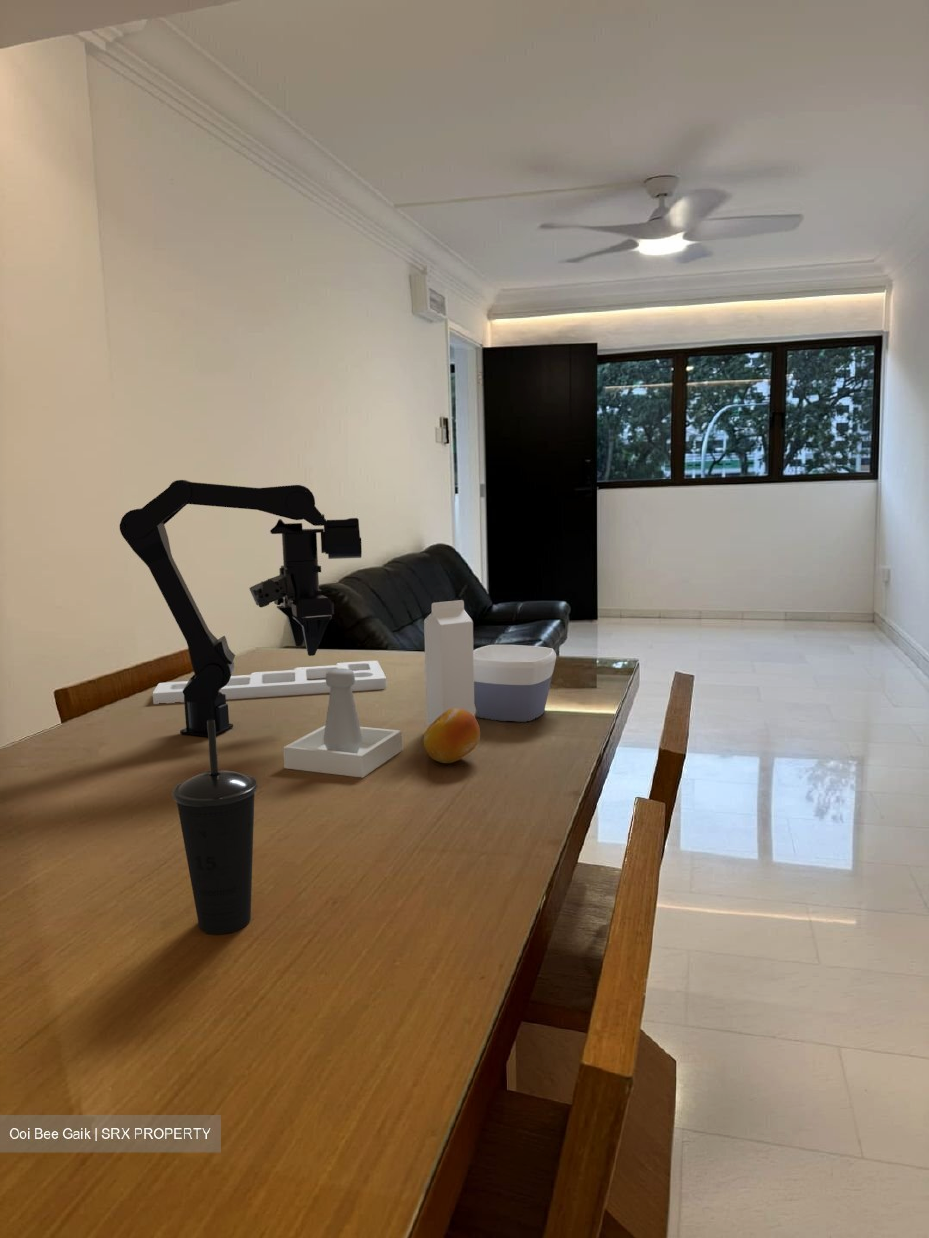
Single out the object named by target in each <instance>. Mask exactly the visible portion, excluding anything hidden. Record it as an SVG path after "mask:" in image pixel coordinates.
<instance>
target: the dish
mask: <svg viewBox="0 0 929 1238" xmlns="http://www.w3.org/2000/svg"><path fill="white" fill-rule="evenodd" d="M360 729H361V734H362V742H361V745H360V748H359V750H358V753H349V752H339V751H330V750H327V748H326V746H325V743H324V732H325V725H322V726H321V727H319V728H317V729H315V730H313V731H311V732H310V733H308V734H305V735H304V736H302V737H300V738H298V739H296V740H295V741H292V742H291V743H289V744H287V745H285V746H283V765H284V766H283V767H284V769H290V770H298V771H305V772H313V773H322V774H329V775H330V774H331V775H336V776H337V775H339V776H347V777H354V778H364V777H366V776H367V775H369V774H370V773H372V772H373V771H374V770H376V769H377V768H379V767H381V766H382V765H383V764H385V763H387V761H389V760H390V759H392V758H393V757H395V756H396V755H398V754H399V753H401V752H402V751H403V740H402V739H403V738H402V737H403V736H402V730H397V729H387V728H377V727H365V726H360Z"/></svg>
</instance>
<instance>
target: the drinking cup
mask: <svg viewBox="0 0 929 1238" xmlns="http://www.w3.org/2000/svg"><path fill="white" fill-rule="evenodd" d="M207 727H208V736H207V739H208V741H207V742H208V751H209V768H210V771H206V772H202V773H200V774H197V775H194V776H193V777H190V778H188V779H187V780H184V781H182V782H180V783H178V784H177V785H176V786H175V787H174V788H173V790H172V798H173V800H174V801H175V802H176V804H177V811H178V815H179V822H180V827H181V833H182V838H183V844H184V850H185V855H186V861H187V867H188V872H189V878H190V883H191V888H192V894H193V895H192V896H193V899H194V907H195V912H196V917H197V918H196V919H197V922H198V927H199V930H201V931H202V932H204V933H205V934H210V935H227V934H231V933H234V932H237V931H240V930H241V929H243V928H245V927H246V926H247V925H248V924H249V923H250V921H251V918H252V891H253V889H252V886H253V885H252V884H253V856H254V855H253V854H254V824H255V822H254V820H255V818H254V817H255V793H256V792H257V790H258V782H257V781H258V780H257V779H255V777H253V776H252V775H248V774H244V773H239V772H236V771H234V770H233V771H231V770H222V769H221V770H219V765H218V762H219V761H218V750H217V749H218V748H217V747H218V746H217V734H216V733H215V720H208V721H207Z"/></svg>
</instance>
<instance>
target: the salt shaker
mask: <svg viewBox="0 0 929 1238" xmlns="http://www.w3.org/2000/svg"><path fill="white" fill-rule="evenodd" d="M325 680H326V683H327V686H329V687H331V689H330V693H329V697H328V698H329V699H328V705H327V712H326V719H325V724H324V726H325V732H324V743H325V746H326V748H327V750H330V751H339V752H349V753H358V750H359V748H360V745H361V742H362V734H361V729H360V727H361V725H360V720H359V716H358V711H357V708H356V702H355V698H354V693H353V691H352V688H351V686H352V685H353V684H354V683H355V676H354V673H353V671H351V670H349V669H344V668H339V669H333V670H330V671H328V673H327V674H326V678H325Z"/></svg>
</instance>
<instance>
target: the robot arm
mask: <svg viewBox="0 0 929 1238" xmlns="http://www.w3.org/2000/svg"><path fill="white" fill-rule="evenodd" d="M187 505H197V506H207V507H218V508H233V509H241V510H243V509H245V510H255V511H260V512H265V513H267V514H269V515H270V514H271V515H274V516H277V517H281V518H286V519H290V520H294V521H302V520H304V521H306V522H307V523H309V524H311V525H312V526H315V527H316V526H317V527H319V526H320V527H321V526H323V528H303V523H302V522H298V523H297V522H296V523H295V522H292V523H285V522H284V521H283V520H282V519H281V518H278V520H277V522H276V524H275V525H274V527H273V526H272V528H271V529H270V531H269V532H270V534H272V535H281V540H282V541H281V544H282V560H283V561H282V562H283V564H282V565H280V567H279V575H276V576H274V577H271V578H267V579H266V580H264V581H260V582H259V583H257V584H254V585H252V586H250V587H249V591H250V594H251V596H252V598H253V600H254V602H255V605H256V606H258V607H259V608H264V607H267V606H269V605H270V604H271V603H273V602H274V603H273V604H275V605H277V606H276V609H278V610H279V611H280V612H281V613H282V614H284V615H285V616H286V620H287V622H288V625H289V626H288V627H290V632H291V636H292V639H293V642H294V645H295V647H297V648H298V647H302V646H303V644H304V643H305V648H306V652H307V655H308V656H309V657H311V656H312V657H313V656H315V655H316V653H317V651H318V648H319V646H320V643H321V641H322V639H323V636H324V634H325V631H326V629H327V626H328V624H329V622H330V620H332V618H333V615H335V603H334V601H332V599H330V598H329V597H327V596H325V595H323V590H322V589H320V582H319V580H320V579H319V573H322V566H321V565H319V558H318V538H317V537H318V536H317V533H319V534H320V547H321V548H320V549H321V551H320V552H321V554H325V555H327V559H328V560H332V559H333V560H336V559H337V560H338V559H340V560H341V559H361V558H362V554H363V553H362V537H361V533H360V532H361V531H360V522H359V520H360V519H359V518H358V517H351V518H350V517H349V518H346V519H342V518H341V519H326V518H325V514H324V513H323V514H322V513H321V512H320V511H319V509H318V508H317V507H316V499H315V496H314V494H313V492H312V491H311V490H310V488H308V487H307V486H305V485H302V484H292V485H278V486H268V487H249V486H242V485H241V486H239V485H227V484H216V483H205V482H195V481H194V482H193V481H189V480H186V479H178V480H177V479H176V480H173V481H172V482H171V483H170V485H169V486H168V487H167V488H166V489H165V490H163V491H162V492H161V493H159V494H158V495H157V496H156V497H154V498H152V500H150V501H149V502H147V503H146V504H145V505H144V506H142V507H141V508H136V509H131V510H129V511H127V512H125V514H124V515H123V516H122V518H121V520H120V524H119V531H120V535H121V536H122V538H123V539H124V540H125V542H127V544H128V545H129V547H130V548H131V549H132V551H133V553H135V555H137V557H138V558H139V559H141V561H142V562H143V563H144V564H145V565H146V566H147V567H148V569H149V572H150V573H151V575H152V577H153V579H154V581H155V583H156V584H157V587H158V589H159V591H160V592H161V594H162V597H163V598H164V600H165V602H166V605H167V607H168V608H169V610H170V612H171V614H172V616H173V619H174V620H175V622H176V624H177V626H178V627H179V630H180V632H181V633H182V636H183V638H184V639H185V641H186V644H187V649H188V654H189V659H190V663H191V667H192V669H193V670H192V671H193V673H194V674H193V675H192V676H191V677H190V678H189V680H187V681H188V683H187V685H186V686H185V688H184V689H183V694H184V702H183V703H184V717H185V727H184V728H183V729H180V730H179V732H180V734H181V735H184V734H185V735H191V736H199V737H200V736H201V737H208V727H207V721H208V720H215V733H216V735H218V734H221V733H223V732H226V731H227V730H229V729H231V728H234V723H230V716H229V705H228V703H227V699H226V695H225V694H222V693H221V692H219V691H220V689H221V688H223V687H224V686H226V685H227V683H228V682H229V680H230V678H231V676H233V675H232V674H233V673H234V669H235V661H234V659H235V657H236V654H235V653H234V652H232V650H231V649H230V646H229V644H228V640H227V637H226V636H225V635H222V636H221V637H219V638H217V637H216V636H215V635H214V634H213V633H212V631H210V629H209V628H208V625H207V623H206V621H205V619H204V617H203V615H202V614H201V611H200V609H199V608H198V605H197V603H196V602H195V599H194V598H193V595H192V593H191V591H190V590H189V588H188V585H187V584H186V582H185V580H184V577H183V575H182V574H181V571H180V570H179V568H178V566H177V564H176V561H175V560H174V558H173V555H172V550H171V547H170V539H169V536H168V533H167V529H166V525H165V524H167V523H168V522H169V521H170V520H171V519H172V518H173V517H175V516H176V515H177V514H178V513H179V512H180V511H181V510H182V509H183V508H185V507H186V506H187Z"/></svg>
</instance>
